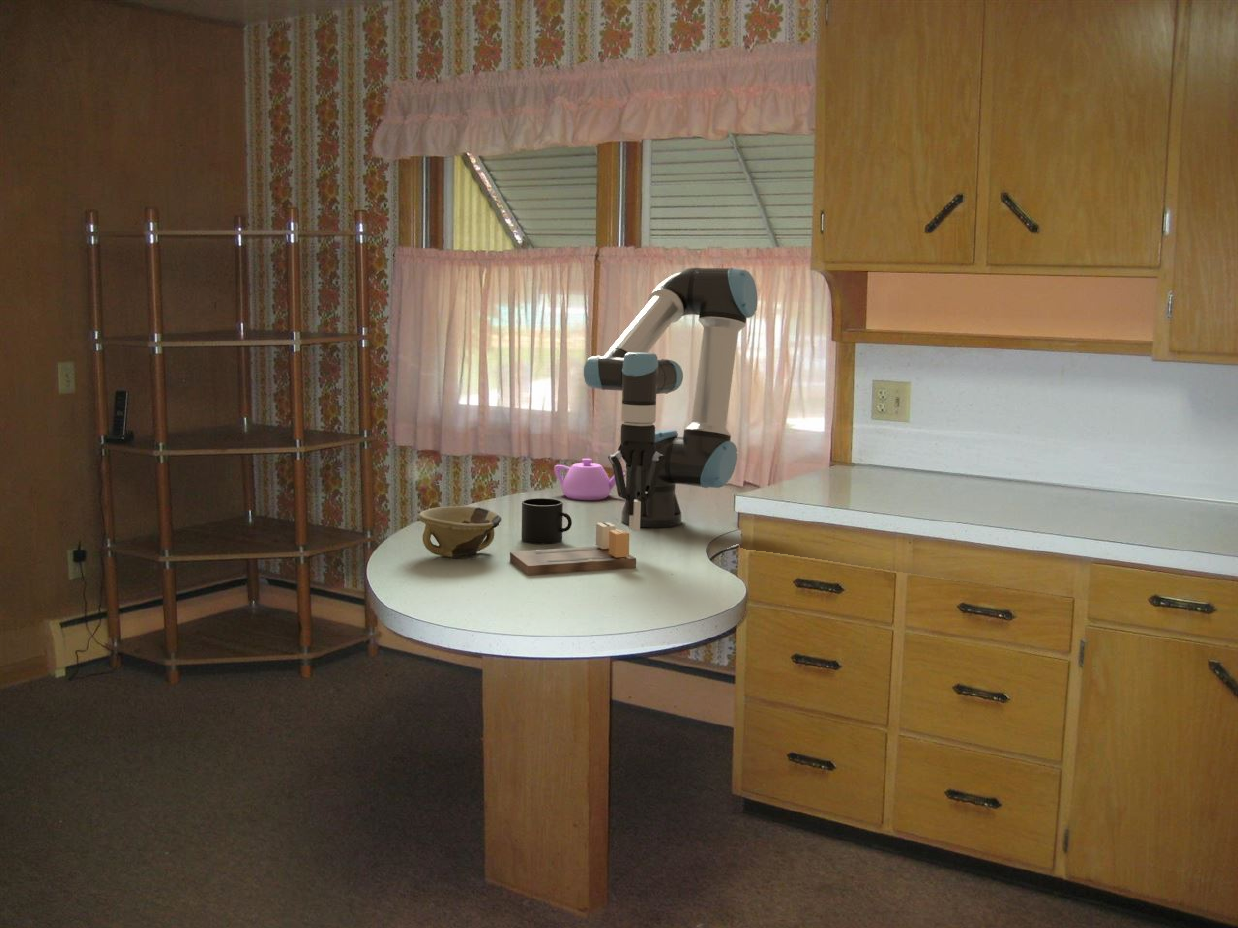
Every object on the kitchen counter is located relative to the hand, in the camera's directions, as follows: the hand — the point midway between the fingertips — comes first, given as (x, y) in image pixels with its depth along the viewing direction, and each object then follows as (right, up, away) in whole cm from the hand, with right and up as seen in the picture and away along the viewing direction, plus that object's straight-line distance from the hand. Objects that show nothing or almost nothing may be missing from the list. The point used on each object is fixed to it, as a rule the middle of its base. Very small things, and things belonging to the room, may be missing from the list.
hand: (634, 529), depth 267 cm
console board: (-13, -7, -8) cm, 17 cm away
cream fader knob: (-6, -4, -2) cm, 8 cm away
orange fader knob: (-3, -5, -9) cm, 11 cm away
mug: (-20, -4, +14) cm, 25 cm away
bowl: (-38, -6, -3) cm, 39 cm away
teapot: (-12, +5, +70) cm, 72 cm away
